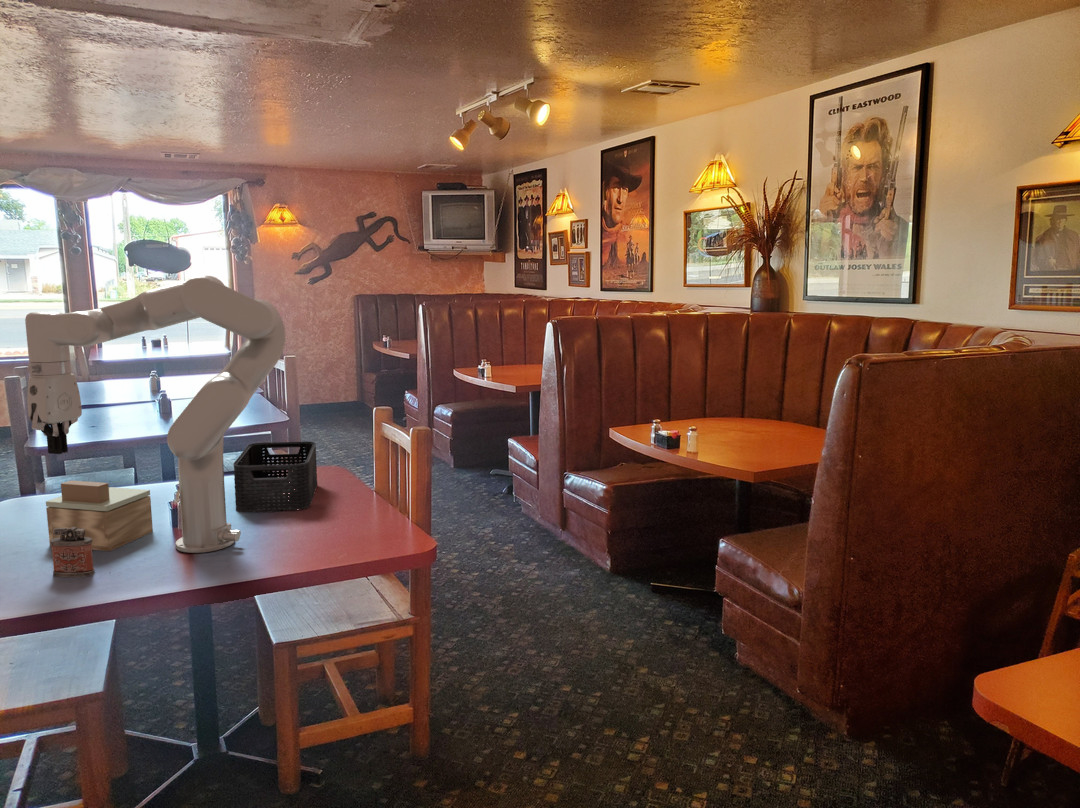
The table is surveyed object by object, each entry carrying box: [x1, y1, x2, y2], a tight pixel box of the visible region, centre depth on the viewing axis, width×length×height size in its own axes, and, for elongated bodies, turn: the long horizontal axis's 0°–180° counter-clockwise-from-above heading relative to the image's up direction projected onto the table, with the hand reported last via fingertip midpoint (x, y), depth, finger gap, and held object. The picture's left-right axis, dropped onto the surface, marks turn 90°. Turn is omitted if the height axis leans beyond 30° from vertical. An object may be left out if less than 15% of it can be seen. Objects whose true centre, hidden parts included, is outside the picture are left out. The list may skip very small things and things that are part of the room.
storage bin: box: [233, 440, 318, 514], centre depth 217 cm, size 29×19×13 cm
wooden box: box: [45, 495, 154, 552], centre depth 181 cm, size 16×14×9 cm
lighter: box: [49, 527, 96, 578], centre depth 159 cm, size 8×3×10 cm, turn 92°
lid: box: [45, 479, 151, 511], centre depth 180 cm, size 16×14×5 cm
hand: (58, 452), depth 168 cm, fingers closed
